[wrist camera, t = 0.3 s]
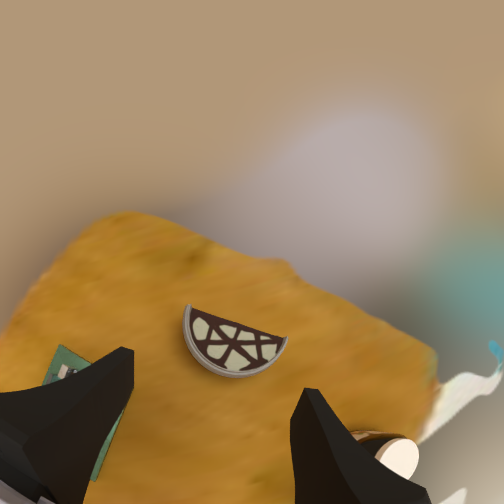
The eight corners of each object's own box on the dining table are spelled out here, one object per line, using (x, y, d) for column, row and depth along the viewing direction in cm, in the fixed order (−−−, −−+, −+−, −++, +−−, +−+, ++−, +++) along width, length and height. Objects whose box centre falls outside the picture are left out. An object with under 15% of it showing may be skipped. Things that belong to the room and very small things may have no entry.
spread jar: (381, 427, 39) (430, 430, 29) (372, 489, 34) (418, 504, 24) (315, 431, 37) (356, 441, 27) (305, 498, 32) (342, 524, 22)
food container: (170, 362, 38) (166, 355, 29) (184, 320, 40) (185, 301, 32) (256, 389, 38) (278, 390, 30) (268, 348, 41) (292, 337, 32)
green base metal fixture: (62, 345, 35) (46, 338, 30) (134, 387, 35) (126, 387, 30) (26, 435, 27) (8, 439, 22) (96, 479, 27) (85, 491, 22)
